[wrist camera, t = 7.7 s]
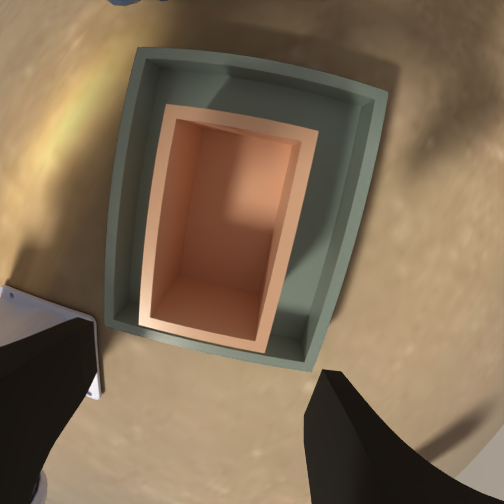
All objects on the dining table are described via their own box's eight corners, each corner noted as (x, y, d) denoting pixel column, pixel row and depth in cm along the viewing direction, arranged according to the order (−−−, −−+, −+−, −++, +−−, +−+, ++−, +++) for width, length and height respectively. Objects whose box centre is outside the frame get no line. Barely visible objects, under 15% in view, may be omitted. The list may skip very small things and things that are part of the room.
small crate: (172, 278, 18) (138, 324, 13) (197, 118, 16) (166, 103, 11) (266, 298, 18) (264, 353, 13) (302, 138, 16) (318, 131, 11)
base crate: (123, 303, 20) (104, 325, 17) (157, 61, 15) (137, 46, 13) (306, 343, 20) (311, 372, 17) (370, 100, 16) (388, 91, 13)
